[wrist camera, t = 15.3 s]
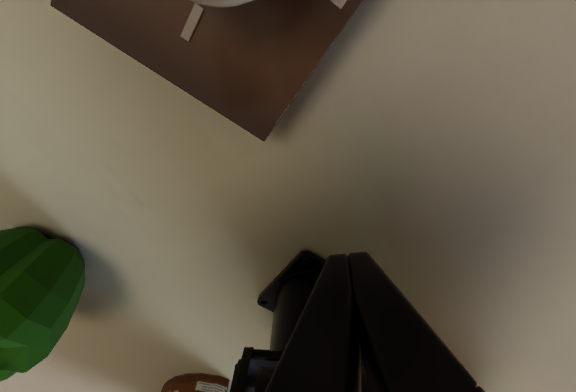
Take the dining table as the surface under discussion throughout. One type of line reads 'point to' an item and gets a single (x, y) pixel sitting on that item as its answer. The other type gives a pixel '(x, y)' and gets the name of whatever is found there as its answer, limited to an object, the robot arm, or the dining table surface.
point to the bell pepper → (35, 296)
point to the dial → (221, 2)
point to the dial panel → (223, 47)
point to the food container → (196, 383)
